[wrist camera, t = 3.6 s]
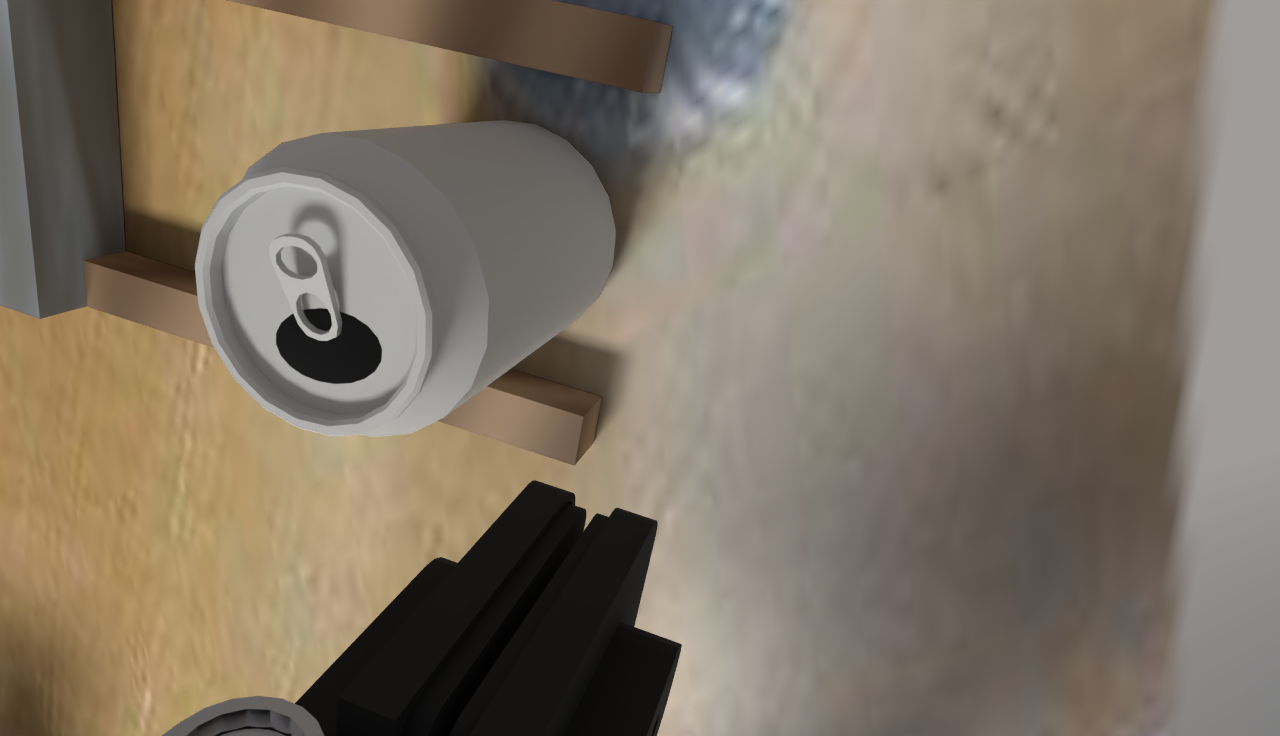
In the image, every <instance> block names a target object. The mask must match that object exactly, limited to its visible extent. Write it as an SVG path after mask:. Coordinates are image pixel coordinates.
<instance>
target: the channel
mask: <svg viewBox="0 0 1280 736" xmlns="http://www.w3.org/2000/svg"><path fill="white" fill-rule="evenodd" d="M228 1H232V2H237V3H241V4H246V5H250V6H255V7H259V8H264V9H268V10H273V11H277V12H282V13H286V14H291V15H295V16H300V17H304V18H309V19H313V20H318V21H322V22H327V23H331V24H336V25H340V26H345V27H349V28H354V29H358V30H363V31H367V32H372V33H376V34H381V35H385V36H390V37H394V38H399V39H403V40H408V41H412V42H417V43H421V44H426V45H430V46H435V47H439V48H444V49H448V50H453V51H457V52H462V53H466V54H471V55H475V56H480V57H484V58H489V59H493V60H498V61H502V62H507V63H511V64H516V65H520V66H525V67H529V68H534V69H538V70H543V71H547V72H552V73H556V74H561V75H565V76H570V77H574V78H579V79H583V80H588V81H592V82H597V83H601V84H606V85H610V86H615V87H619V88H624V89H628V90H633V91H637V92H642V93H660V91H661V86H662V80H663V75H664V70H665V65H666V60H667V54H668V49H669V44H670V39H671V33H672V28H673V26H670V25H666V24H663V23H660V22H656V21H652V20H647V19H642V18H637V17H632V16H627V15H622V14H617V13H612V12H607V11H602V10H597V9H593V8H588V7H583V6H578V5H573V4H568V3H563V2H558V1H553V0H228ZM0 306H3V307H6V308H9V309H12V310H15V311H18V312H21V313H24V314H27V315H30V316H33V317H36V318H39V319H41V318H44V317H48V316H52V315H56V314H59V313H63V312H67V311H71V310H74V309H78V308H82V307H85V306H87V307H90V308H93V309H96V310H99V311H103V312H106V313H109V314H112V315H115V316H118V317H121V318H124V319H127V320H130V321H133V322H136V323H139V324H142V325H145V326H148V327H152V328H155V329H158V330H161V331H164V332H167V333H170V334H173V335H176V336H179V337H182V338H185V339H188V340H191V341H194V342H197V343H201V344H204V345H207V346H210V347H213V348H214V346H213V345H212V342H211V339H210V337H209V334H208V331H207V328H206V325H205V323H204V320H203V317H202V314H201V311H200V308H199V305H198V295H197V284H196V274H195V272H192V271H188V270H185V269H182V268H179V267H175V266H172V265H169V264H166V263H162V262H159V261H156V260H153V259H149V258H146V257H143V256H139V255H136V254H133V253H130V252H126V249H125V232H124V214H123V197H122V179H121V162H120V144H119V127H118V109H117V92H116V74H115V57H114V39H113V22H112V4H111V0H0ZM601 399H602V397H601V396H597V395H594V394H591V393H588V392H584V391H581V390H578V389H575V388H571V387H568V386H565V385H561V384H558V383H555V382H552V381H548V380H545V379H542V378H539V377H535V376H532V375H529V374H525V373H522V372H519V371H516V370H512V369H510V370H508V371H507V372H505V373H504V374H503V375H501V376H500V377H499V378H497V379H496V380H495V381H493V382H492V383H491V384H489V385H488V386H486V387H485V388H484V389H482V390H481V391H480V392H478V393H477V394H476V395H474V396H473V397H472V398H470V399H469V400H467V401H466V402H465V403H463V404H462V405H461V406H459V407H458V408H457V409H455V410H454V411H452V412H451V413H450V414H448V415H447V416H446V417H444V418H442V419H440V420H438V421H440V422H443V423H446V424H449V425H452V426H455V427H458V428H461V429H464V430H467V431H470V432H473V433H476V434H479V435H482V436H485V437H489V438H492V439H495V440H498V441H501V442H504V443H507V444H510V445H513V446H516V447H519V448H522V449H525V450H528V451H531V452H535V453H538V454H541V455H544V456H547V457H550V458H553V459H556V460H559V461H562V462H565V463H568V464H571V465H575V464H576V463H577V462H578V461H579V459H580V458H581V457H582V456H583V455H584V453H585V452H586V451H587V450H588V449H589V448H590V446H591V445H592V444H593V441H594V436H595V430H596V425H597V420H598V415H599V409H600V404H601Z"/></svg>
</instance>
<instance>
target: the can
mask: <svg viewBox="0 0 1280 736" xmlns="http://www.w3.org/2000/svg"><path fill="white" fill-rule="evenodd" d="M615 239H616V229H615V224H614V219H613V214H612V209H611V204H610V200H609V196H608V195H607V193H606V191H605V189H604V187H603V185H602V183H601V181H600V180H599V178H598V176H597V174H596V172H595V170H594V168H593V166H592V165H591V164H590V163H589V162H588V161H587V160H586V159H585V158H584V157H583V156H582V155H581V154H580V153H579V152H578V151H577V150H576V149H575V148H574V147H573V146H572V145H571V144H570V143H569V142H568V141H567V140H566V139H564V138H562V137H560V136H558V135H556V134H554V133H552V132H550V131H548V130H546V129H544V128H542V127H540V126H538V125H536V124H530V123H523V122H515V121H508V120H496V121H482V122H468V123H454V124H441V125H427V126H413V127H400V128H386V129H372V130H358V131H345V132H331V133H321V134H317V135H313V136H308V137H304V138H300V139H296V140H292V141H288V142H283V143H281V144H279V145H278V146H277V147H275V148H274V149H273V150H272V151H270V152H269V153H268V154H266V155H265V156H264V157H262V158H261V159H260V160H258V161H257V162H256V163H254V164H253V165H252V166H250V167H249V168H248V170H247V172H246V174H245V175H244V177H243V179H242V180H241V181H240V182H238V183H237V184H236V185H234V186H233V187H232V188H230V189H229V190H228V191H226V192H225V193H224V194H222V195H221V196H220V197H219V199H218V200H217V202H216V204H215V206H214V207H213V209H212V211H211V212H210V214H209V216H208V218H207V219H206V221H205V223H204V224H203V226H202V229H201V234H200V240H199V245H198V250H197V255H196V260H195V274H196V284H197V295H198V305H199V308H200V311H201V314H202V317H203V320H204V323H205V325H206V328H207V331H208V334H209V337H210V339H211V342H212V345H213V346H214V348H215V350H216V351H217V353H218V354H219V356H220V357H221V359H222V361H223V362H224V364H225V365H226V367H227V368H228V370H229V372H230V373H231V375H232V376H233V378H234V379H235V380H236V381H237V382H238V383H239V384H240V385H241V386H242V387H243V388H244V389H245V390H246V391H247V392H248V393H249V394H250V395H251V396H252V397H253V398H254V399H255V400H256V401H257V402H258V403H259V404H260V405H261V406H262V407H263V408H264V409H266V410H268V411H269V412H271V413H273V414H275V415H276V416H278V417H280V418H281V419H283V420H285V421H287V422H288V423H290V424H292V425H293V426H295V427H297V428H300V429H304V430H308V431H312V432H316V433H320V434H324V435H328V436H332V437H336V436H347V435H359V434H362V435H366V436H370V437H379V436H391V435H403V434H411V433H413V432H415V431H417V430H420V429H422V428H424V427H426V426H428V425H430V424H432V423H434V422H436V421H438V420H440V419H442V418H444V417H446V416H447V415H448V414H450V413H451V412H452V411H454V410H455V409H457V408H458V407H459V406H461V405H462V404H463V403H465V402H466V401H467V400H469V399H470V398H472V397H473V396H474V395H476V394H477V393H478V392H480V391H481V390H482V389H484V388H485V387H486V386H488V385H489V384H491V383H492V382H493V381H495V380H496V379H497V378H499V377H500V376H501V375H503V374H504V373H505V372H507V371H508V370H510V369H511V368H512V367H514V366H515V365H516V364H518V363H519V362H520V361H522V360H523V359H524V358H526V357H527V356H529V355H530V354H531V353H533V352H534V351H535V350H537V349H538V348H539V347H541V346H542V345H543V344H545V343H546V342H548V341H549V340H550V339H552V338H553V337H554V336H556V335H557V334H558V333H560V332H561V331H562V330H564V329H565V328H567V327H568V326H569V325H571V324H572V323H573V322H575V321H576V320H577V319H579V318H580V317H581V316H582V315H583V314H584V312H585V311H586V310H587V309H588V308H589V307H590V306H591V305H592V304H593V303H594V302H595V301H596V300H597V299H598V297H599V296H600V295H601V292H602V290H603V288H604V285H605V283H606V281H607V279H608V276H609V274H610V272H611V269H612V267H613V260H614V249H615Z"/></svg>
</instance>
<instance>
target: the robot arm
mask: <svg viewBox="0 0 1280 736" xmlns="http://www.w3.org/2000/svg"><path fill="white" fill-rule="evenodd" d="M585 521H586V510H585V509H583V508H580V507H577V506H575V495H574V493H572V492H569V491H566V490H563V489H560V488H556V487H553V486H550V485H547V484H544V483H541V482H538V481H532V482H530V483H529V484H528V485H527V486H526V487H525V489H524V490H523V491H522V492H521V493H520V494H519V495H518V496H517V498H516V499H515V500H514V501H513V502H512V503H511V504H510V505H509V506H508V508H507V509H506V510H505V511H504V512H503V513H502V514H501V515H500V517H499V518H498V519H497V520H496V521H495V522H494V523H493V524H492V526H491V527H490V528H489V529H488V530H487V531H486V532H485V533H484V534H483V536H482V537H481V538H480V539H479V540H478V541H477V542H476V543H475V545H474V546H473V547H472V548H471V549H470V550H469V551H468V552H467V553H466V555H465V556H464V557H463V558H462V559H461V560H460V561H459V562H458V563H456V562H453V561H450V560H448V559H445V558H442V557H440V558H436V559H434V560H433V561H431V562H430V563H429V564H428V565H427V566H426V567H425V568H424V569H423V570H422V571H421V572H420V573H419V574H418V575H417V576H416V577H415V578H414V579H413V580H412V581H411V582H410V583H409V584H408V585H407V586H406V588H405V589H404V590H403V591H402V592H401V593H400V594H399V595H398V596H397V597H396V598H395V599H394V600H393V601H392V602H391V603H390V604H389V605H388V606H387V607H386V609H385V610H384V611H383V612H382V613H381V614H380V615H379V616H378V617H377V618H376V619H375V620H374V621H373V622H372V623H371V624H370V625H369V626H368V627H367V628H366V629H365V631H364V632H363V633H362V634H361V635H360V636H359V637H358V638H357V639H356V640H355V641H354V642H353V643H352V644H351V645H350V646H349V647H348V648H347V649H346V650H345V652H344V653H343V654H342V655H341V656H340V657H339V658H338V659H337V660H336V661H335V662H334V663H333V664H332V665H331V666H330V667H329V668H328V669H327V670H326V671H325V672H324V674H323V675H322V676H321V677H320V678H319V679H318V680H317V681H316V682H315V683H314V684H313V685H312V686H311V687H310V688H309V689H308V690H307V691H306V692H305V693H304V695H303V696H302V697H301V698H300V699H299V700H298V701H297V702H296V703H295V704H294V703H292V702H289V701H287V700H284V699H280V698H272V697H263V696H253V697H245V698H236V699H230V700H227V701H224V702H221V703H218V704H215V705H212V706H209V707H206V708H204V709H202V710H201V711H199V712H197V713H195V714H194V715H192V716H190V717H188V718H187V719H185V720H183V721H181V722H180V723H178V724H177V725H176V726H174V727H173V728H172V729H170V730H169V731H167V732H166V733H165V734H163V735H162V736H657V733H658V730H659V727H660V723H661V720H662V717H663V714H664V710H665V707H666V704H667V700H668V696H669V693H670V689H671V686H672V682H673V678H674V674H675V671H676V667H677V663H678V659H679V655H680V651H681V646H682V645H681V644H679V643H677V642H674V641H671V640H668V639H666V638H663V637H660V636H657V635H655V634H652V633H649V632H646V631H643V630H641V629H638V628H635V627H634V625H635V621H636V617H637V613H638V608H639V604H640V600H641V596H642V591H643V587H644V583H645V579H646V574H647V570H648V566H649V562H650V557H651V553H652V549H653V545H654V540H655V536H656V531H657V524H658V523H657V521H656V520H653V519H650V518H647V517H644V516H641V515H638V514H635V513H632V512H629V511H626V510H623V509H620V508H615V509H614V511H613V512H612V513H611V515H610V516H609V517H607V516H604V515H601V514H596V515H595V516H594V517H593V519H592V520H591V522H590V523H589V525H588V526H587V527H586V529H585V530H584V526H585ZM583 531H584V532H583Z"/></svg>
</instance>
